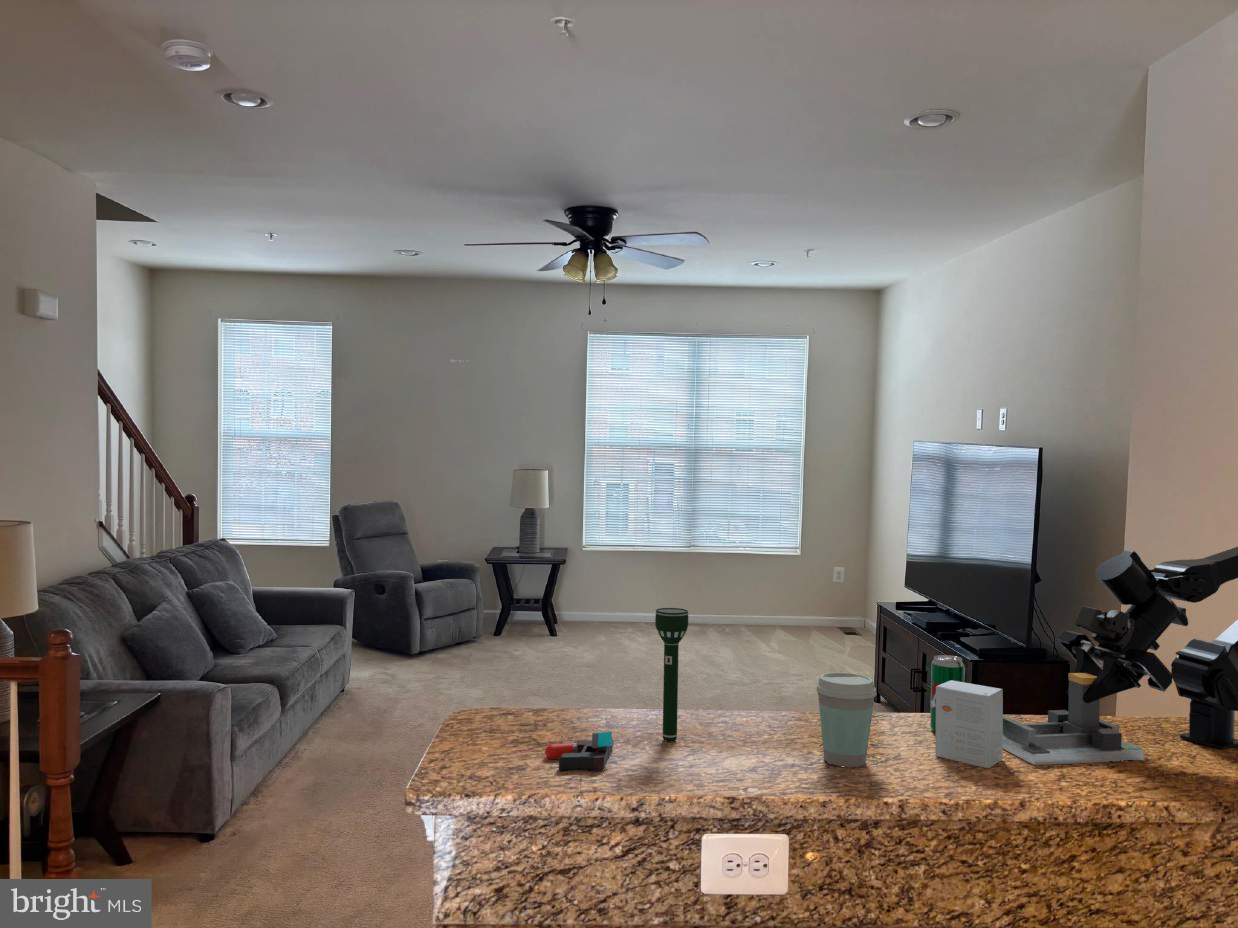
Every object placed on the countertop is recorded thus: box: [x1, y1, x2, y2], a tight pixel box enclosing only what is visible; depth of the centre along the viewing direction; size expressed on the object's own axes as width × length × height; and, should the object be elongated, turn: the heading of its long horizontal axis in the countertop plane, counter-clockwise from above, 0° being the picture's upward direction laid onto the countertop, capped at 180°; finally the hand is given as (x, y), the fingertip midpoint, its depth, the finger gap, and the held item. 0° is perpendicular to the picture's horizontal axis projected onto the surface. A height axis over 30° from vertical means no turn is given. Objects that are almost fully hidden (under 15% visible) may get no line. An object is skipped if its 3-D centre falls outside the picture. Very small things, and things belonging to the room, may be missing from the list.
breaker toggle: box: [1063, 672, 1104, 734], centre depth 135 cm, size 4×4×9 cm
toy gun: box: [544, 730, 615, 772], centre depth 126 cm, size 10×12×5 cm
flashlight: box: [654, 607, 689, 743], centre depth 135 cm, size 5×5×20 cm
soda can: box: [929, 654, 966, 733], centre depth 142 cm, size 5×5×12 cm
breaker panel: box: [1003, 709, 1145, 766], centre depth 134 cm, size 18×13×4 cm
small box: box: [935, 680, 1004, 769], centre depth 129 cm, size 8×6×10 cm
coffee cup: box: [815, 671, 877, 768], centre depth 127 cm, size 8×9×12 cm
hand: (1077, 697), depth 135 cm, fingers closed on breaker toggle, 3 cm apart
